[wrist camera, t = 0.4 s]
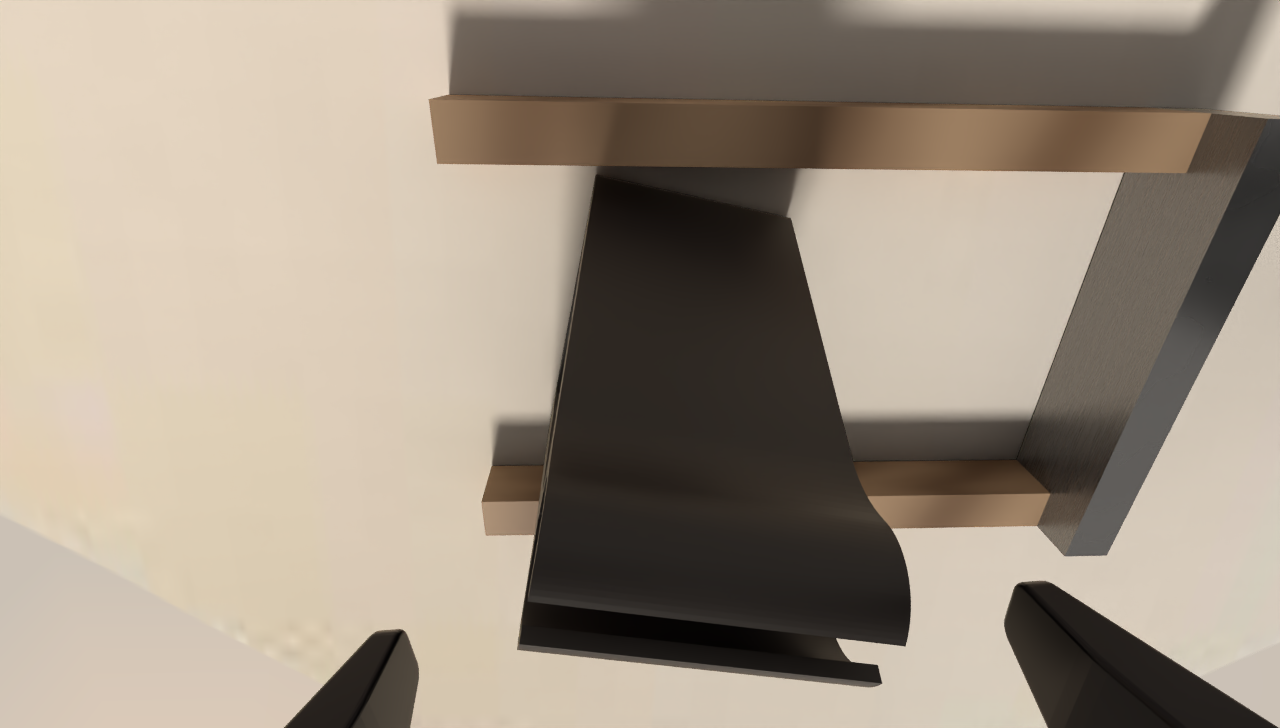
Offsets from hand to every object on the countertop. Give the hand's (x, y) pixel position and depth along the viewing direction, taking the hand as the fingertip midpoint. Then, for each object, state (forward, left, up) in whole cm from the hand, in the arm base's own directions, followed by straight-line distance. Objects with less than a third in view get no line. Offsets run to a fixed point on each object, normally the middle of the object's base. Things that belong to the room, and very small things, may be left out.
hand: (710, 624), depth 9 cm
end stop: (-15, +1, -12) cm, 19 cm away
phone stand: (0, +1, -12) cm, 12 cm away
